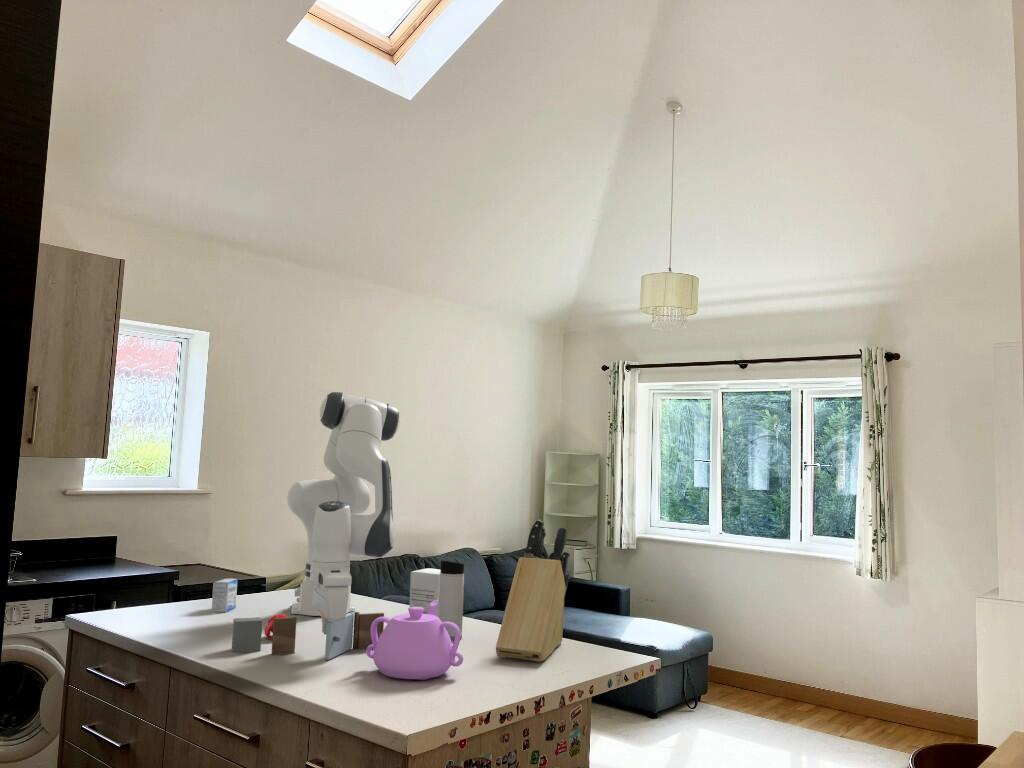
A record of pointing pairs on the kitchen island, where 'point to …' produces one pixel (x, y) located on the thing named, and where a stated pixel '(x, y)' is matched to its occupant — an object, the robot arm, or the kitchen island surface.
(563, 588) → the knife block
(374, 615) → the door frame
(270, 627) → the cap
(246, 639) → the block
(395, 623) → the teapot
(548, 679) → the kitchen island surface
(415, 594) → the supplement box
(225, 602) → the medicine box
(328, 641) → the door
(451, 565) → the travel mug
